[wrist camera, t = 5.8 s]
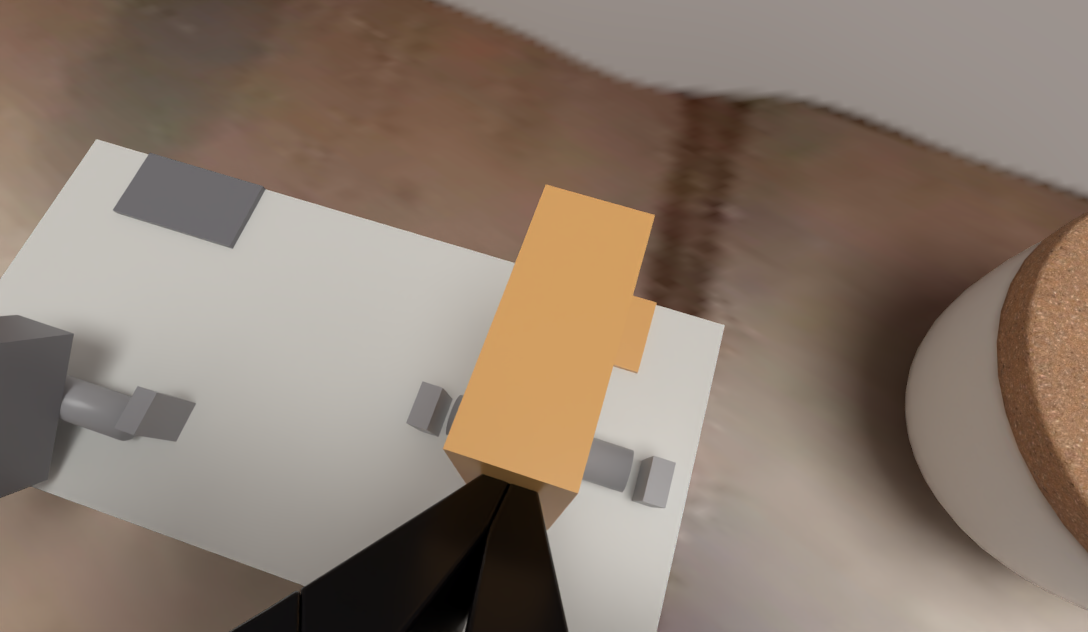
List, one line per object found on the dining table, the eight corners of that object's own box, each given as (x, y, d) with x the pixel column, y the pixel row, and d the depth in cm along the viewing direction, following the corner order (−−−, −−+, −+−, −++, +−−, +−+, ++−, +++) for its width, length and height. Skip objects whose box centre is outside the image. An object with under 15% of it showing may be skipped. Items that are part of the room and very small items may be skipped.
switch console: (625, 679, 17) (653, 737, 13) (-28, 443, 19) (-183, 428, 15) (703, 345, 20) (744, 306, 16) (142, 176, 22) (54, 105, 18)
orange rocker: (604, 552, 15) (712, 538, 7) (427, 492, 15) (320, 408, 7) (641, 404, 17) (761, 244, 8) (481, 354, 17) (446, 156, 9)
